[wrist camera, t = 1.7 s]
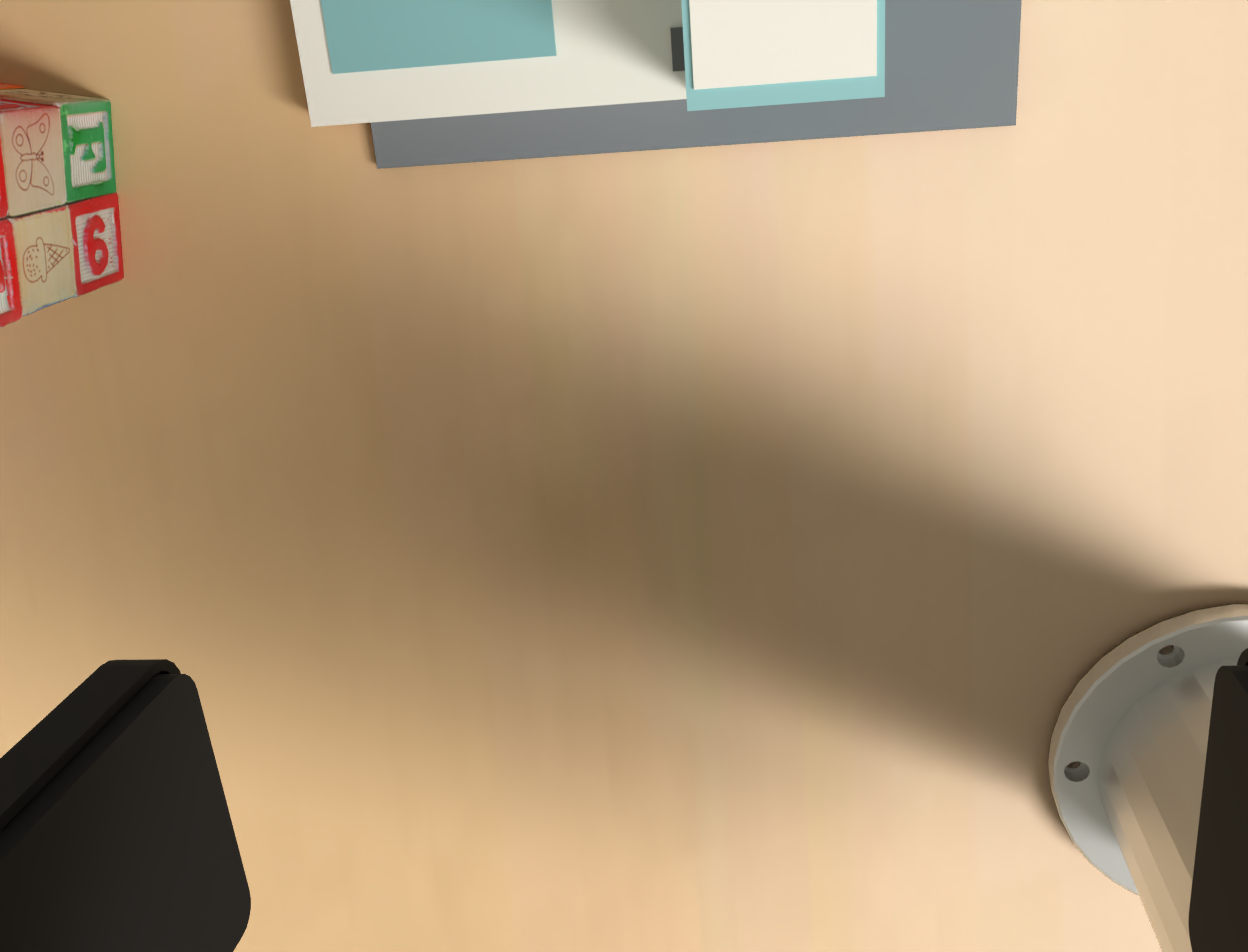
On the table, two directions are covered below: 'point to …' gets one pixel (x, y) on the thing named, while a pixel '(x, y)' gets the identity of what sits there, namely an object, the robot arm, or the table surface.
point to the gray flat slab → (616, 77)
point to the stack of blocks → (55, 199)
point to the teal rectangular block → (782, 51)
